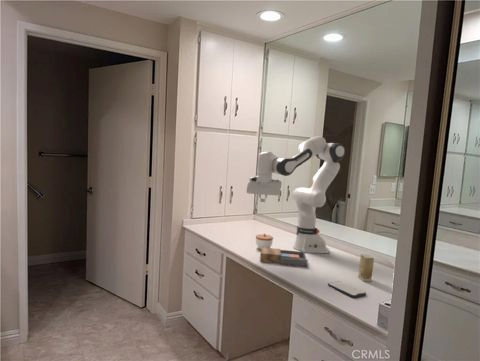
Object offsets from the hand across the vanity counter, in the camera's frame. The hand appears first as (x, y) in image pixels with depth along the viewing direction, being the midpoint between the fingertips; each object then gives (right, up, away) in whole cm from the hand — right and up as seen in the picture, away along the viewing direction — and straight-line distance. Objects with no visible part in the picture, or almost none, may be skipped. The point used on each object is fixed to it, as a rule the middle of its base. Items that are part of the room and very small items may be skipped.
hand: (262, 201), depth 205 cm
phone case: (+35, -38, -50) cm, 71 cm away
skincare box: (+49, -37, -34) cm, 70 cm away
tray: (+16, -33, -12) cm, 38 cm away
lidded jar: (+1, -30, +9) cm, 31 cm away
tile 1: (+17, -30, -13) cm, 36 cm away
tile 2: (+12, -32, -12) cm, 36 cm away
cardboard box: (+4, -32, -11) cm, 34 cm away
